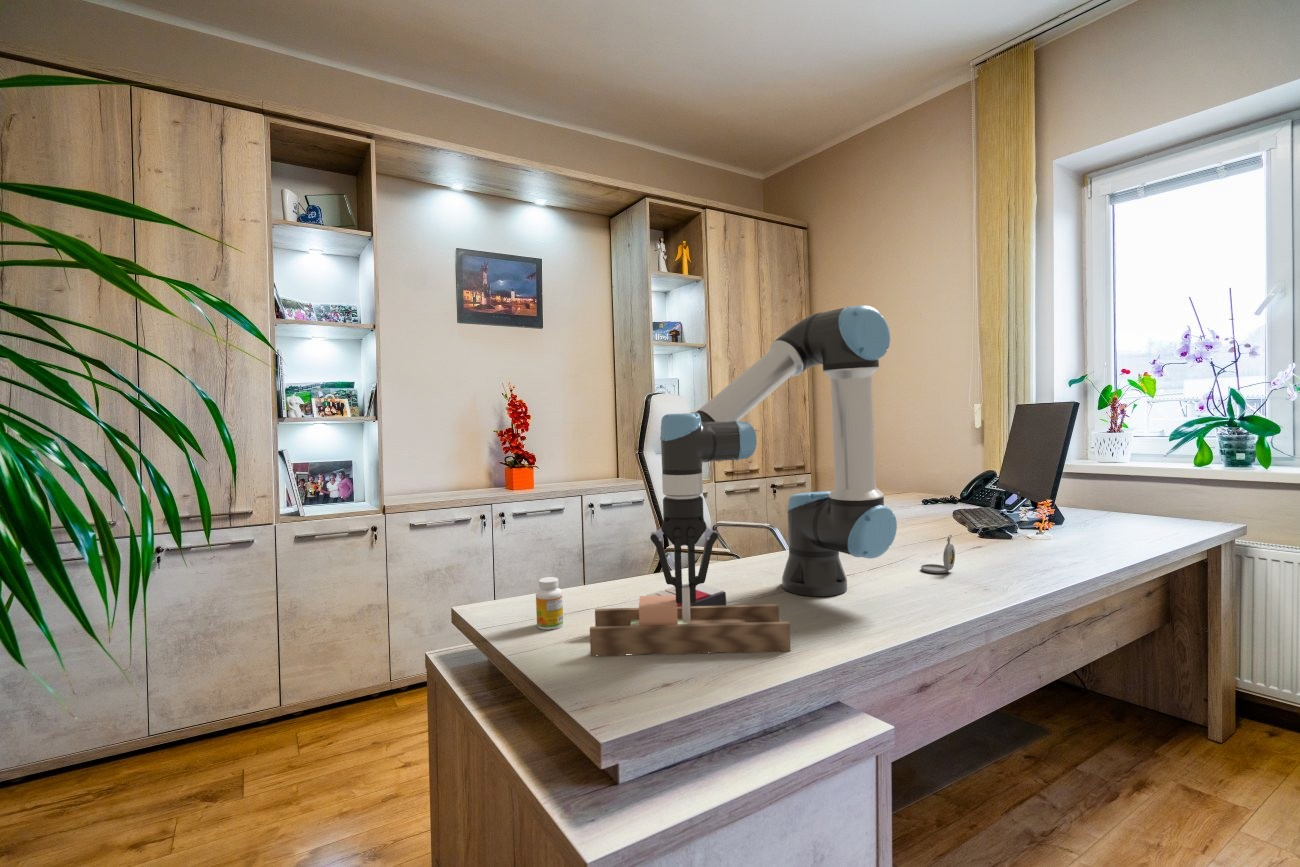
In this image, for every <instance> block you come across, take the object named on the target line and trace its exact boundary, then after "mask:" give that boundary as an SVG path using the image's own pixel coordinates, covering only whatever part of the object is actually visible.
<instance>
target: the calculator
mask: <svg viewBox="0 0 1300 867" xmlns="http://www.w3.org/2000/svg"><path fill="white" fill-rule="evenodd" d="M686 584H689V582H688V583H686ZM665 595H676V589H675V586H672V587H669V588H666V589H664V590H659V591H656V592H653V593H650V594H646V595H645V596H665ZM721 605H727V593H726V592H725V590H722V589H719V588H715V587H713V586H710V585H707V584H704V583H701V584H698V585H697V586H696V602H695V603H690V606H721ZM677 607H682V604H677Z"/></svg>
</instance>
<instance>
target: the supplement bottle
mask: <svg viewBox="0 0 1300 867" xmlns="http://www.w3.org/2000/svg"><path fill="white" fill-rule="evenodd" d="M559 584H560V583H559V578H558V577H556V576H547V577H546V576H545V577H541V578H540V579H539V580H538V587H539V589H537V591H536V593H535V607H536V609H535V610H536V626H537V628H538V629H540V630H544V631H551V629H553V630H557V629H560V628H561V627H562V626H563V625H564V606H563V605H564V604H563V591H562V589H561V588H559ZM559 627H560V628H559Z"/></svg>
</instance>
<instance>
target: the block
mask: <svg viewBox="0 0 1300 867" xmlns="http://www.w3.org/2000/svg"><path fill="white" fill-rule="evenodd" d="M638 600H639V601H638V608H639V625H672V624H678V619H677V602H676V595H665V596H646V595H639V599H638Z"/></svg>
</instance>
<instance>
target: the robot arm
mask: <svg viewBox="0 0 1300 867" xmlns="http://www.w3.org/2000/svg"><path fill="white" fill-rule="evenodd" d="M890 342H891V332H890V328H889V324H888V323H887V321H886V319H885V317H884V316H883V315H881V312H879V310H877V309H876V308H874V307H872V306H870V305H863V304H862V305H852V306H846V307H841V308H837V309H833V310H828V311H827V310H826V311H824V312H817V313H813V314H811V315H809V316H807V317H805V318H803V319H801V320H800V321H798V322H797V323H795V324H794V325H793V326H791V327H790V328H789V329H788V330H786V331H785V332H784V333H782V334H781V335H779V337H778V338H776V339H775V340H774V341H773V342H772V343H771V344H770V346H769V349H768V351H767V352H766V353H765V354H764V355H762V357H760V358H759V359H758V360H757V361H756V362H754V363H753V364H752V365H751V366H750V367H748V368H747V369H746V370H745V371H743V372H742V373H741V374H740V375H739V376H737V377H736V378H734V380H733V381H732V382H730V383H729V384H728V385H727V386H725V387H723V388H722V390H721V391H719V392H718V393H717V394H716V395H715V396H714V397H712V398H711V399H709V401H707V402H706V403H705V404H704V405H703V406H701V407H700V408H699V409H698V410H696V411H695V412H694V413H693V412H691V413H689V412H687V413H666V414H664V415H663V416H662V418H661V422H660V424H661V425H660V435H659V436H660V438H659V439H660V449H661V472H662V473H661V481H662V485H661V486H662V489H661V490H662V494H663V496H664V497H663V498H662V510H663V511H662V512H663V515H662V516H663V518H662V519H663V520H662V522H661V525H660V528H659V529H658V530H656V531H655V532H654V531H653V532H651V533H650V535H649V536H650V537H649V538H650V540H651V542H652V543H653V545H654V546H655V548H656V551H657V555H658V558H659V562H660V566H661V569H662V573H663V576H664V580H665V583H666V584H667V585H671V586H672V587H675V589H676V602H677V604H682V619H683V623H688V622H691V619H690V603H695V602H696V586H697V585H698V584H704V583H705V582H706V578H707V574H708V569H709V564H710V560H711V555H712V551H713V546H714V544H715V543H716V542H717V540H718V538H719V534H718V533H717V531H716V530H712V529H711V528H709V527H708V526H707V523H706V522H705V520H704V519H705V517H704V498H703V497H702V496H701V495H702V494H703V493H704V490H703V489H704V486H703V482H704V481H703V463H709V462H724V461H725V462H726V461H736V462H737V461H739V460H744V459H748V458H750V457H752V456H753V455H754V453H755V452H756V449H757V439H758V436H757V433H756V430H755V428H754V427H753V425H752V424H751V423H749V422H748V421H742V420H741V419H742V418H743V417H745V416H746V415H747V414H748V413H750V412H751V411H752V410H753V409H755V407H756V406H758V405H759V404H760V403H762V402H763V401H764V400H765V399H766V398H767V397H768V396H770V395H771V394H772V393H773V392H774V391H775V390H776V389H777V388H779V387H780V386H781V385H782V384H784V382H786V381H787V380H788V379H789V378H791V377H793V378H794V377H797V376H798V377H799V375H801V374H802V373H803V372H804V371H806V370H807V369H810V368H812V367H816V366H819V365H822V372H823V374H825V375H826V376H827V377H828V378H829V380H830V397H831V398H830V399H831V422H832V443H833V444H832V445H833V446H832V447H833V468H834V473H833V474H834V488H833V489H832V490H825V491H810V492H800V493H795V494H792V495H790V497H789V498H788V504H787V510H786V511H787V528H788V530H787V532H788V534H787V535H788V536H787V537H788V557H787V561H786V563H785V567H784V570H783V572H782V578H781V586H782V589H783V590H785V591H787V592H788V593H790V594H791V593H792V594H795V595H800V596H806V597H833V596H838V595H841V594H844V593H845V592H847V590H848V579H847V576H846V573H845V570H844V568H843V565H842V561H841V557H840V553H843V554H847V555H850V556H852V557H855V558H864V559H870V560H871V559H876V558H878V557H880V556H882V555H884V554H885V553H886V552H887V551H888V550H889V549H890V546H892V544H893V543H894V540H895V538H896V535H897V529H898V524H897V523H898V520H897V517H896V515H895V513H893V512H894V511H893V510H892V509H890V508H889V507H888V506H886V505H885V499H884V498H885V497H884V493H883V492H882V491H881V490H880V489H878V487H877V484H876V483H877V482H876V480H877V478H876V452H875V451H876V450H875V429H874V428H875V426H874V423H875V422H874V403H873V402H874V400H873V397H874V396H873V376H874V374H876V372H877V371H878V370H879V369H880V361H879V360H880V359H882V358H883V357H884V356H885V355H886V354H887V352H888V351H887V350H888V349H889V348H890V346H891V345H890ZM740 420H741V421H740ZM703 534H704V539H705V542H704V547H703V551H702V555H701V559H700V560H701V561H700V565H699V569H698V573H697V575H696V547H695V545H696V544H697V543H698V542H699V540H700V539H701V537H702V535H703ZM663 535H665V537H666V538H667V539H668V540H669V542H670V543H671V544H672V545H673V550H674V551H673V553H674V556H673V557H674V576H672V571H671V569H670V565H669V561H668V558H667V556H666V551H665V546H664V545H663V542H664V536H663ZM682 546H687V572H688V574H687V577H688V583H689V584H687V583H683V572H682V570H683V569H682V568H683V566H682Z"/></svg>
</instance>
